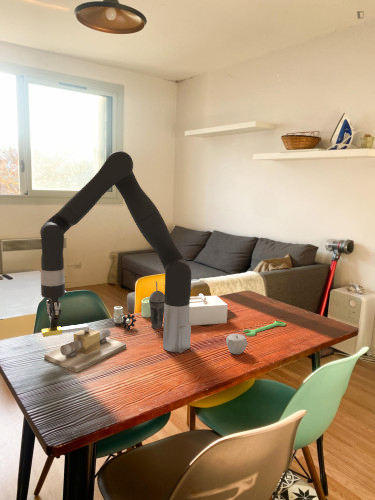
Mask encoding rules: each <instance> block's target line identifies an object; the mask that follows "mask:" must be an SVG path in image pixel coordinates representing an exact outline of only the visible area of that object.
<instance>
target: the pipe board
mask: <svg viewBox="0 0 375 500" xmlns="http://www.w3.org/2000/svg"><path fill="white" fill-rule="evenodd" d="M111 334H112V333H111V329H110V328H108V327H107V328H106V327H105V328H104V329H103V328H102V329H101V330H98V331H97V330H94V329H92V328H89V333H84V330H80V331H75V332H74V333H73V341H71V342H68V343H66V344H63V345H61V346H60V347H59V348H56V349H55V350H52V351H49V352H46V353H44V354H43V356H44V357H43V358H44V359H45V360H48V362H52V363H54V364H56V365H58V366H61V367H63V368H65V369H68V370H69V371H72V372H74V373H78V372H81V371H82V370H85V369H87V368H89V367H91V366H93V365H95V364H97V363H98V362H101V361H103V360H105V359H107V358H109V357H111V356H112V355H115V354H117V353H119V352H121V351H123V350H125V349H127V343H124V342H121V341H119V340H115V339H112V338H109V337H111Z"/></svg>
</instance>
